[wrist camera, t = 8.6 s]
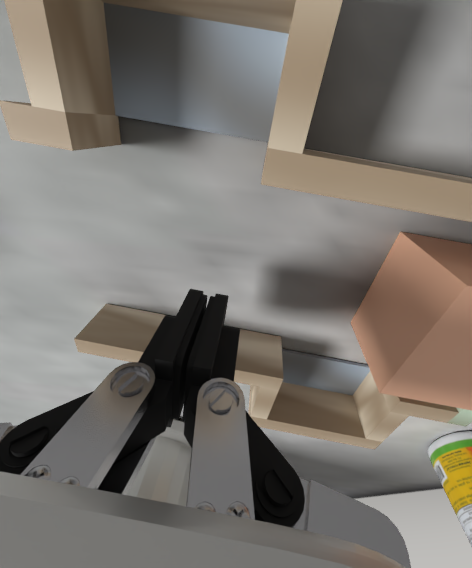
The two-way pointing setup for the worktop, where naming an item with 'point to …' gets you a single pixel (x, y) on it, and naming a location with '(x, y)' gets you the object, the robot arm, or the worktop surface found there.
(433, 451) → the supplement bottle
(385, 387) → the terracotta block
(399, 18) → the worktop surface
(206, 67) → the trap lane
